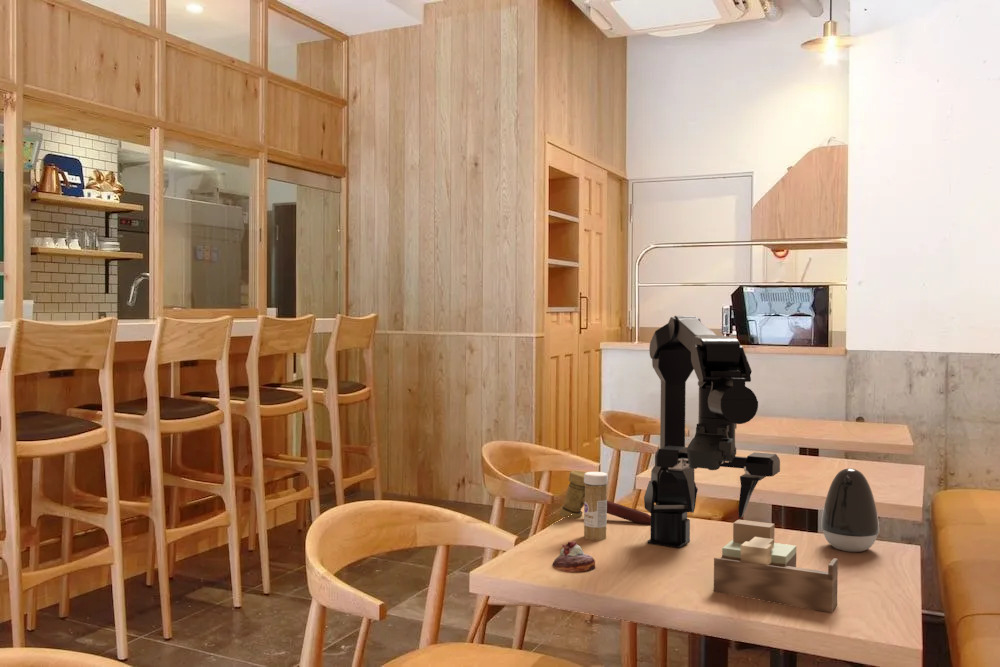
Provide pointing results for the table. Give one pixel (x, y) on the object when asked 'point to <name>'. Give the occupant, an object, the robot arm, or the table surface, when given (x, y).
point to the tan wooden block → (757, 550)
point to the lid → (752, 529)
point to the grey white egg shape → (850, 513)
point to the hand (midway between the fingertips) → (715, 514)
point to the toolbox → (778, 582)
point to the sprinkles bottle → (595, 505)
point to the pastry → (573, 559)
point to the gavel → (577, 499)
